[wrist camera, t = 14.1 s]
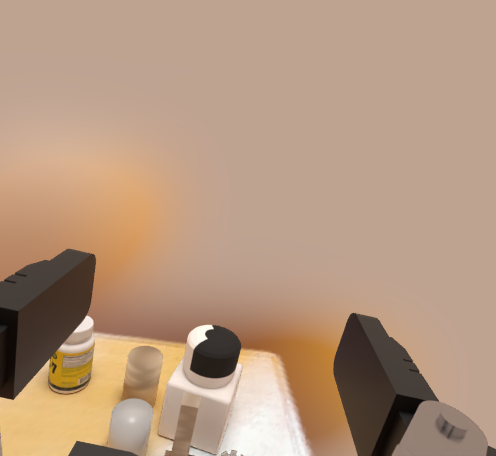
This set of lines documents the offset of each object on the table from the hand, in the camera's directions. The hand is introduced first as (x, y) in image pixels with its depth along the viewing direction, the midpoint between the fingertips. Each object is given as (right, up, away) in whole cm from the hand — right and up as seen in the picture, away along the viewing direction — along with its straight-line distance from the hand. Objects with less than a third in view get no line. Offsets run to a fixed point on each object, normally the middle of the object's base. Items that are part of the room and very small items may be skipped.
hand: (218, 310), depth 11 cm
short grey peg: (-12, -21, +27) cm, 36 cm away
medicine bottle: (-5, -21, +32) cm, 39 cm away
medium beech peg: (-12, -19, +33) cm, 40 cm away
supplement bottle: (-21, -17, +34) cm, 43 cm away
